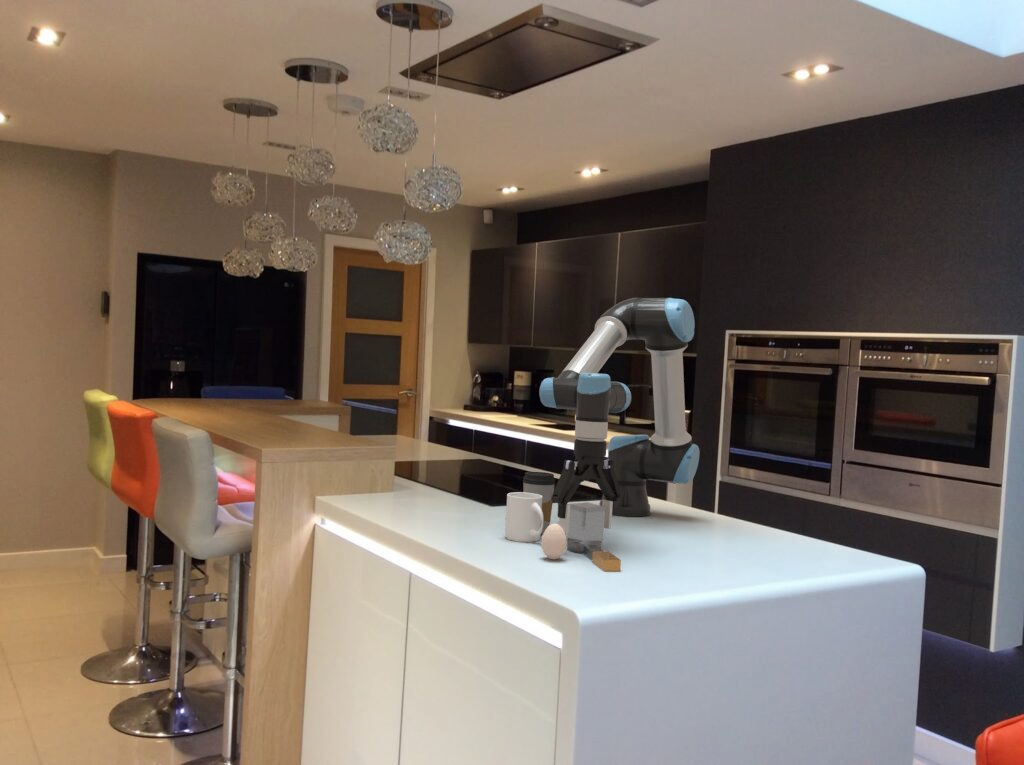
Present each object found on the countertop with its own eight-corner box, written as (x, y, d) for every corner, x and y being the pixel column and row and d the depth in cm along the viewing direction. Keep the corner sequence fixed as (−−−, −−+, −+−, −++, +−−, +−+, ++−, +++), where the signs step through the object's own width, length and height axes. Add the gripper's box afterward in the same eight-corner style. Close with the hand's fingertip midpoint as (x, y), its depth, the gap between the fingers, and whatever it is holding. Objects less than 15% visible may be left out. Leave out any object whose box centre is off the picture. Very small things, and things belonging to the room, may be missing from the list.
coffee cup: (549, 537, 211) (553, 477, 211) (516, 534, 213) (520, 474, 212) (554, 531, 219) (558, 473, 219) (522, 528, 221) (526, 470, 221)
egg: (557, 563, 184) (560, 527, 184) (536, 559, 187) (538, 523, 187) (569, 559, 189) (572, 523, 189) (548, 555, 192) (550, 520, 191)
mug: (526, 546, 199) (529, 501, 199) (497, 536, 209) (500, 493, 209) (555, 544, 204) (558, 499, 204) (526, 534, 214) (528, 491, 213)
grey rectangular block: (585, 535, 203) (587, 502, 203) (603, 540, 199) (605, 506, 198) (566, 537, 200) (568, 503, 199) (584, 542, 195) (586, 508, 195)
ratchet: (594, 546, 204) (596, 519, 204) (630, 571, 181) (632, 540, 181) (562, 546, 202) (564, 518, 202) (594, 571, 179) (596, 540, 179)
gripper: (617, 436, 209) (611, 523, 210) (539, 438, 194) (533, 531, 194) (639, 440, 203) (634, 528, 204) (561, 441, 188) (555, 537, 188)
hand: (585, 530), depth 199 cm, fingers open, 13 cm apart
